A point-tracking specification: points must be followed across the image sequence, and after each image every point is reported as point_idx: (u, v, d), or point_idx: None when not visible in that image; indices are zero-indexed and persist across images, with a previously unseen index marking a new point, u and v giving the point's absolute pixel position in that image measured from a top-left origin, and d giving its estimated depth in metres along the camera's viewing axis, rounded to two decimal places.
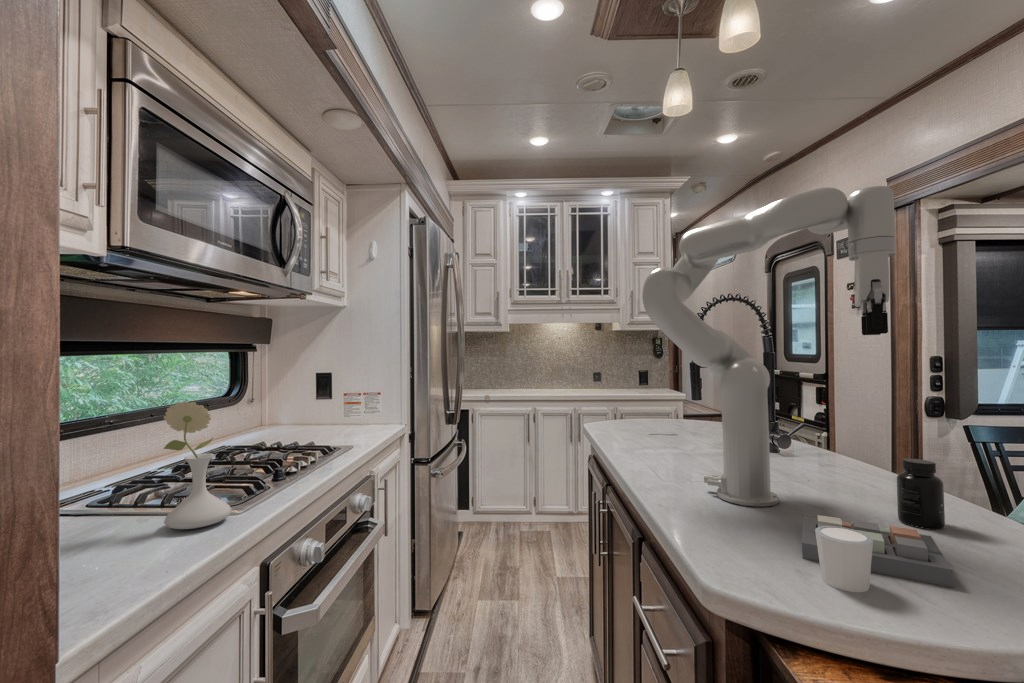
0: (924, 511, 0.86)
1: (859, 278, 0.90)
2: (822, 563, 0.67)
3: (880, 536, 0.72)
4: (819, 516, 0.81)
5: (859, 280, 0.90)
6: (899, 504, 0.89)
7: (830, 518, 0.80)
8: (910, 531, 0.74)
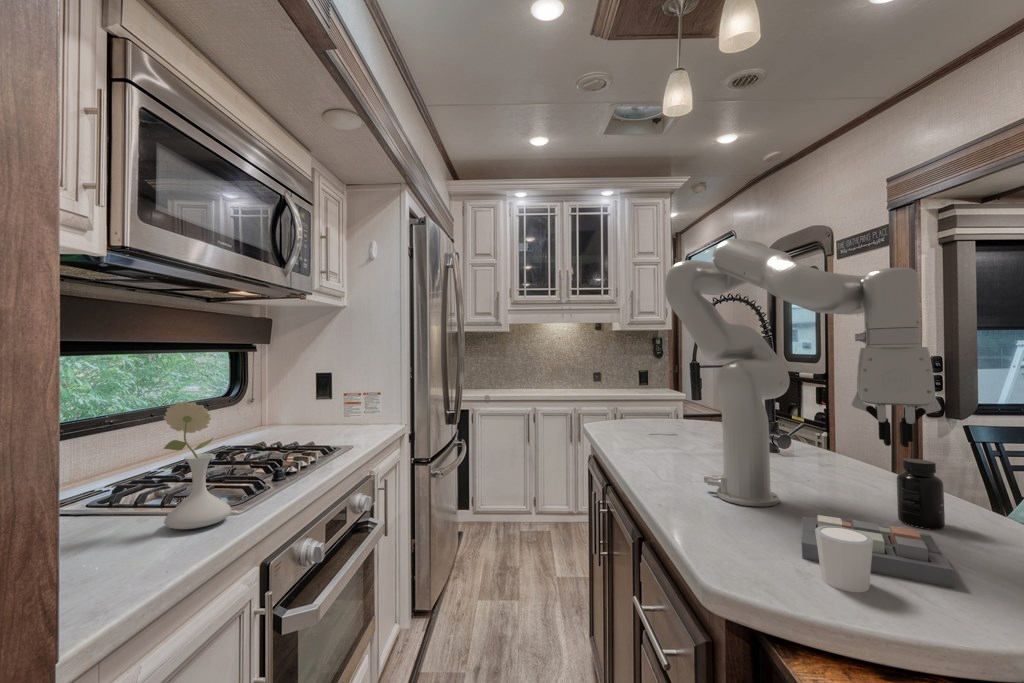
0: (924, 511, 0.86)
1: (931, 375, 0.76)
2: (822, 563, 0.67)
3: (880, 536, 0.72)
4: (819, 516, 0.81)
5: (931, 378, 0.76)
6: (899, 504, 0.89)
7: (830, 518, 0.80)
8: (910, 531, 0.74)
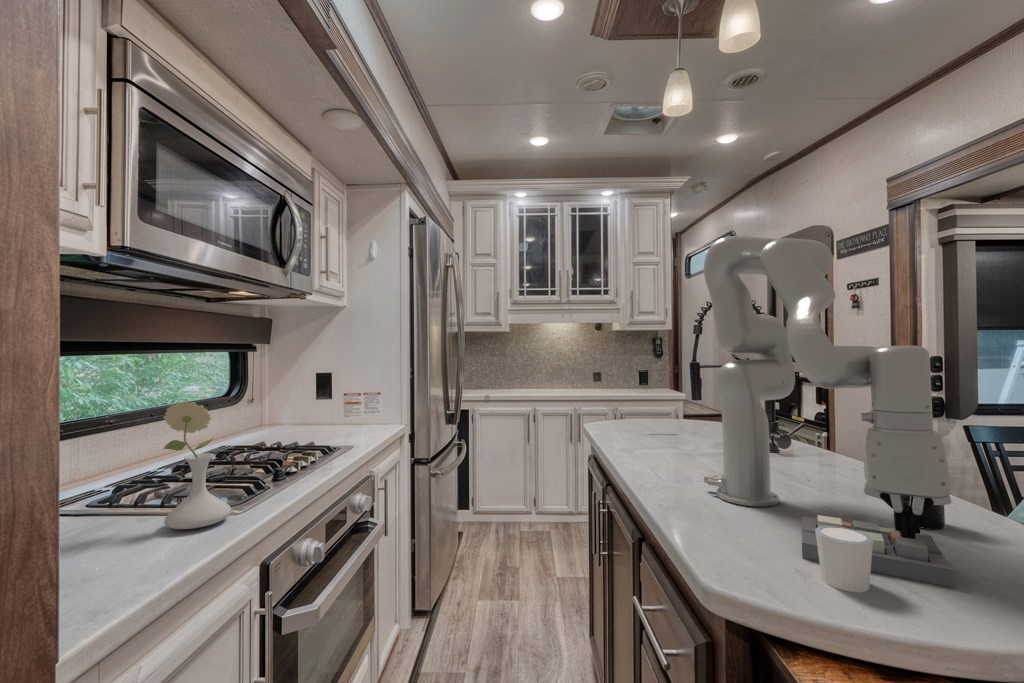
0: (924, 511, 0.86)
1: (945, 466, 0.70)
2: (822, 563, 0.67)
3: (880, 536, 0.72)
4: (819, 516, 0.81)
5: (945, 468, 0.70)
6: None
7: (830, 518, 0.80)
8: None
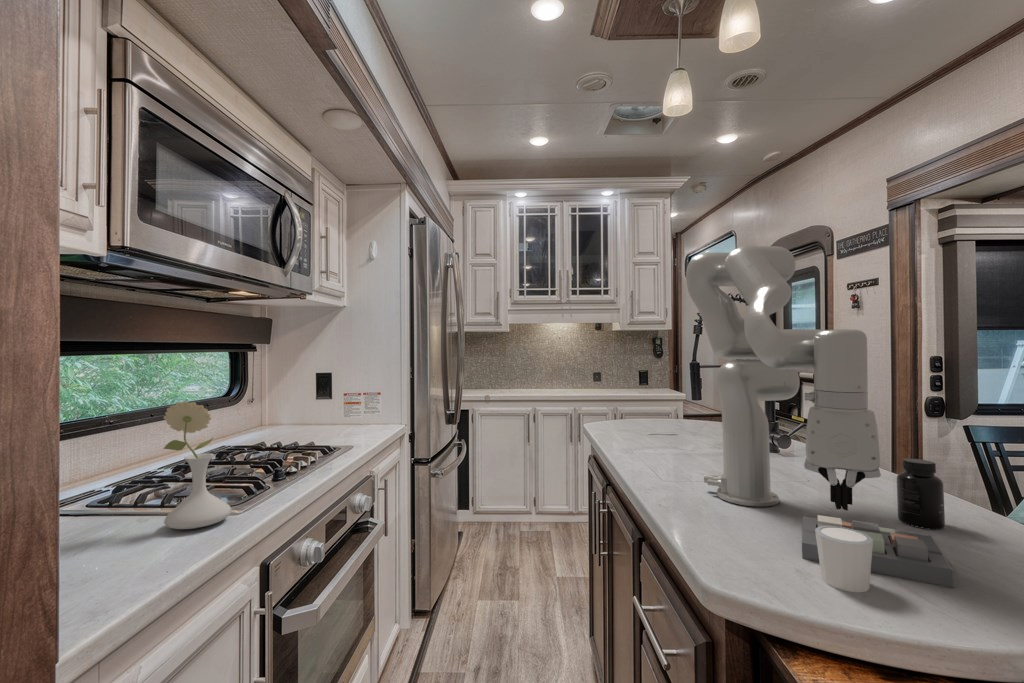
0: (924, 511, 0.86)
1: (876, 442, 0.75)
2: (822, 563, 0.67)
3: (880, 536, 0.72)
4: (819, 516, 0.81)
5: (876, 444, 0.75)
6: (899, 504, 0.89)
7: (830, 518, 0.80)
8: (910, 538, 0.74)
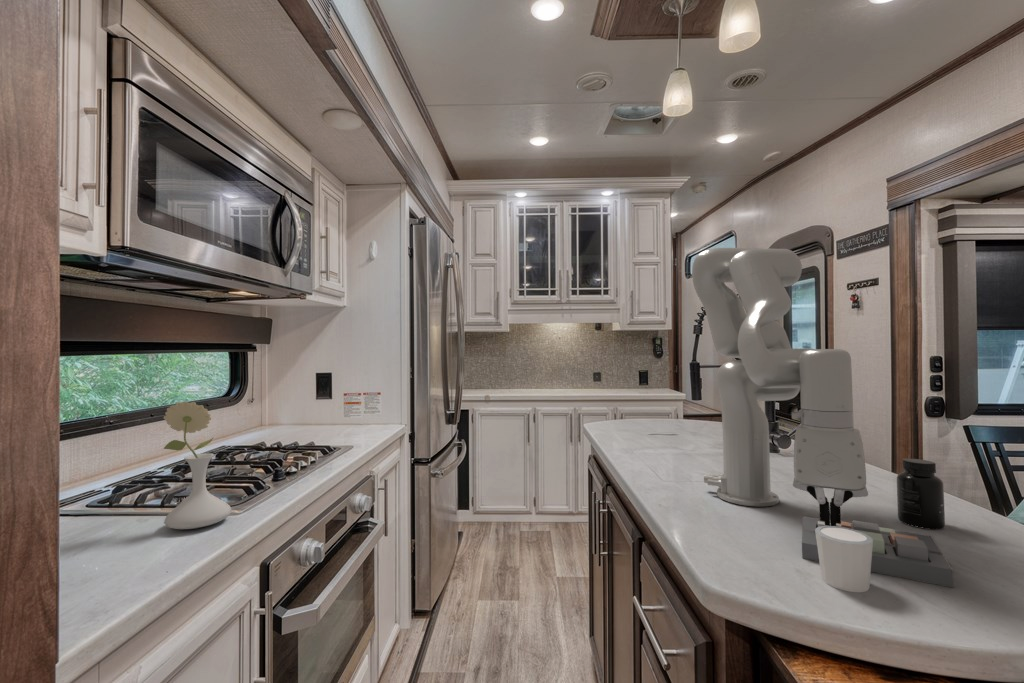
0: (924, 511, 0.86)
1: (862, 461, 0.75)
2: (822, 563, 0.67)
3: (880, 536, 0.72)
4: (819, 522, 0.81)
5: (862, 463, 0.75)
6: (899, 504, 0.89)
7: (830, 524, 0.80)
8: (910, 538, 0.74)
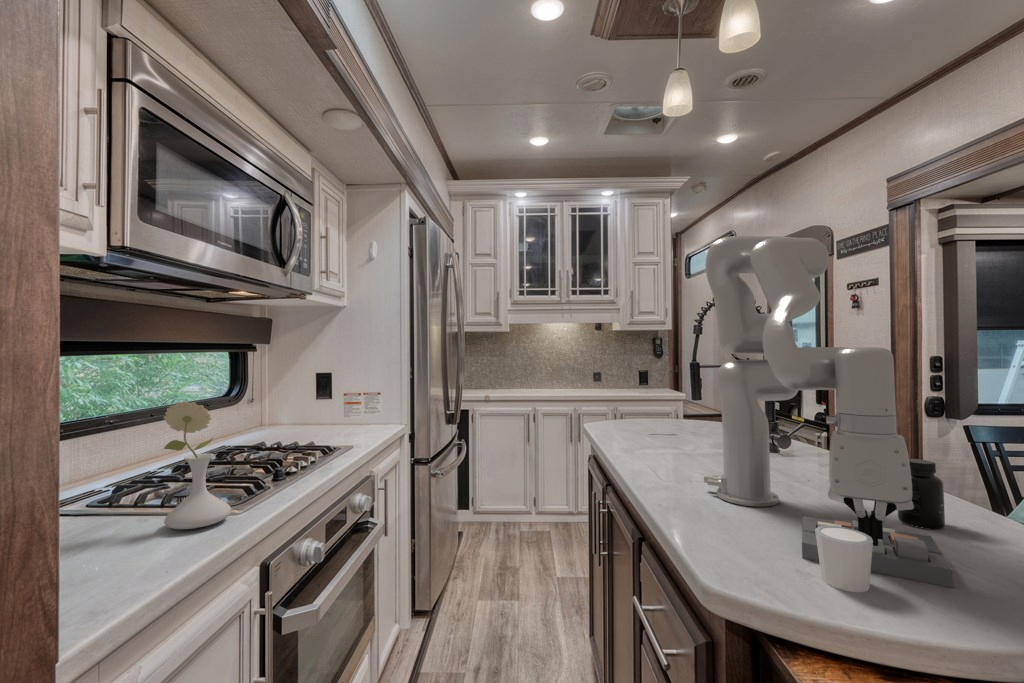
0: (924, 511, 0.86)
1: (908, 470, 0.68)
2: (822, 563, 0.67)
3: (880, 542, 0.72)
4: (819, 522, 0.81)
5: (908, 473, 0.68)
6: None
7: (830, 525, 0.80)
8: (910, 538, 0.74)
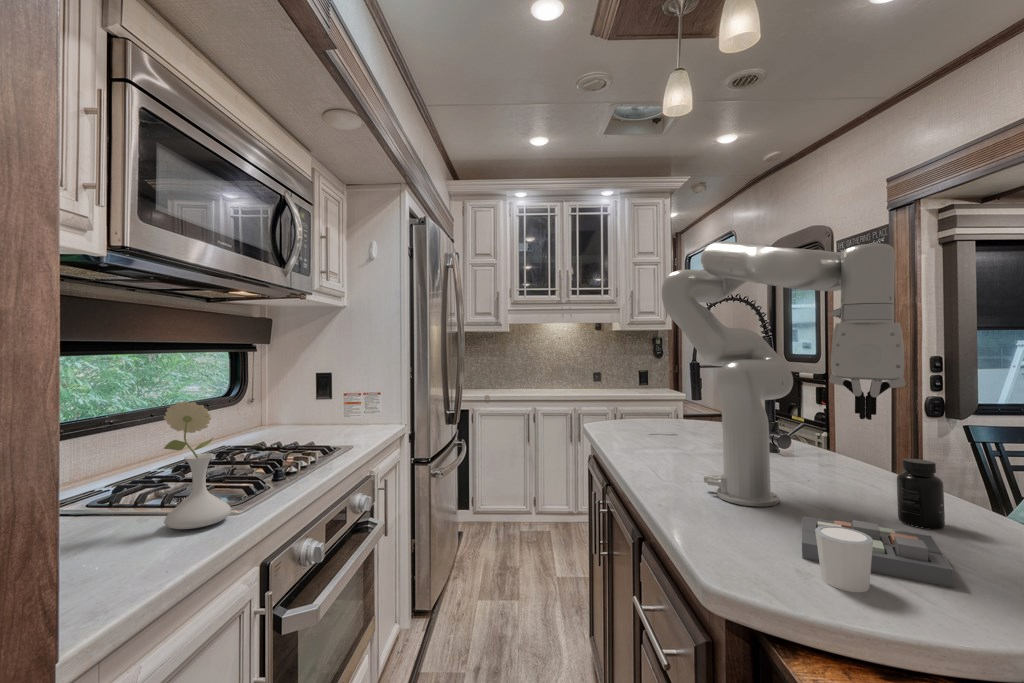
0: (924, 511, 0.86)
1: (901, 350, 0.77)
2: (822, 563, 0.67)
3: (880, 543, 0.72)
4: (819, 522, 0.81)
5: (901, 353, 0.77)
6: (899, 504, 0.89)
7: (830, 525, 0.80)
8: (910, 538, 0.74)
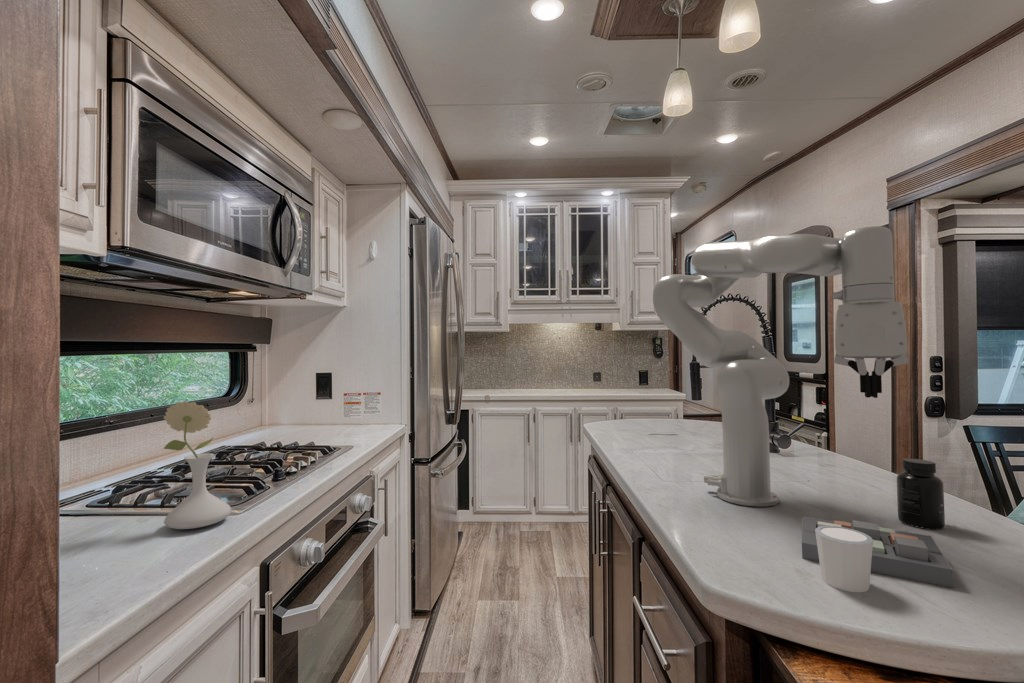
0: (924, 511, 0.86)
1: (904, 328, 0.79)
2: (822, 563, 0.67)
3: (880, 543, 0.72)
4: (819, 522, 0.81)
5: (904, 330, 0.79)
6: (899, 504, 0.89)
7: (830, 525, 0.80)
8: (910, 538, 0.74)
